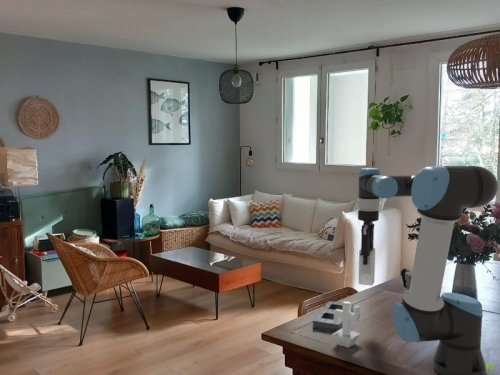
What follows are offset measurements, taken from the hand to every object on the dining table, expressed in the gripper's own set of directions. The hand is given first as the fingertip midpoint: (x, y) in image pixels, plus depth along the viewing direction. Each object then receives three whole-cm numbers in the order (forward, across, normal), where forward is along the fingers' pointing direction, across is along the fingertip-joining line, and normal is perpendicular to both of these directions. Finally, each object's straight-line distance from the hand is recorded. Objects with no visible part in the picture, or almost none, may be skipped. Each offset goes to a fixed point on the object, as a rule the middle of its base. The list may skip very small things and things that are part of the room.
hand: (366, 270), depth 187 cm
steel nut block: (+5, 0, 0) cm, 5 cm away
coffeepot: (+21, -27, +15) cm, 38 cm away
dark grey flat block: (+21, -1, -12) cm, 25 cm away
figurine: (+21, +20, -3) cm, 29 cm away
